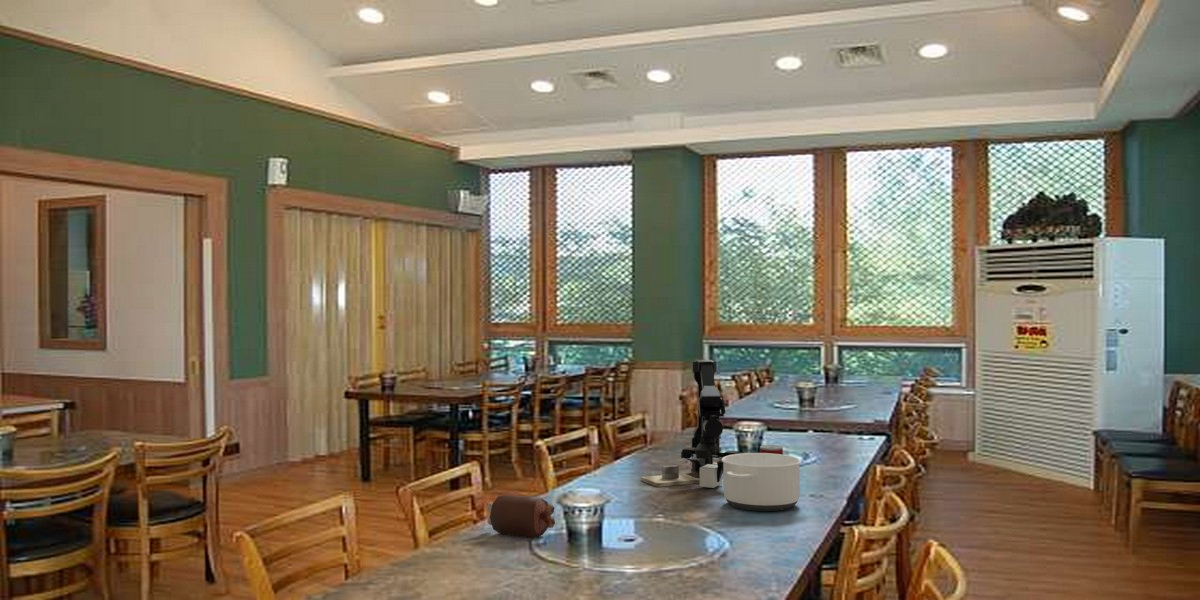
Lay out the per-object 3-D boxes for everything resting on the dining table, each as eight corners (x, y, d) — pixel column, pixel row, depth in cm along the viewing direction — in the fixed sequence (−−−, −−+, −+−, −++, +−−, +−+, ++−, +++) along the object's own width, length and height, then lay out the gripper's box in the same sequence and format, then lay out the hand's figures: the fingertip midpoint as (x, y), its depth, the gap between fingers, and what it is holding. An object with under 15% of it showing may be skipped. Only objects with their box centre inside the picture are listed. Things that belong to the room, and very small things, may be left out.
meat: (475, 536, 243) (475, 497, 243) (500, 527, 253) (500, 489, 253) (542, 544, 234) (541, 503, 234) (565, 534, 244) (564, 494, 244)
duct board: (683, 476, 323) (683, 461, 323) (700, 483, 311) (700, 467, 311) (641, 480, 316) (641, 465, 316) (656, 486, 305) (656, 470, 305)
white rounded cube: (708, 482, 310) (707, 464, 309) (721, 483, 307) (721, 465, 307) (699, 486, 303) (699, 467, 303) (713, 487, 301) (713, 468, 301)
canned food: (781, 477, 321) (781, 445, 321) (784, 481, 313) (783, 448, 313) (759, 476, 322) (758, 444, 322) (760, 481, 314) (760, 448, 314)
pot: (772, 521, 257) (772, 471, 257) (698, 510, 271) (698, 463, 271) (821, 500, 284) (821, 455, 284) (752, 491, 298) (751, 448, 298)
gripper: (674, 434, 302) (674, 483, 302) (729, 438, 294) (730, 488, 294) (687, 430, 312) (687, 477, 312) (741, 433, 304) (741, 482, 304)
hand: (710, 481), depth 305 cm, fingers closed on white rounded cube, 5 cm apart
